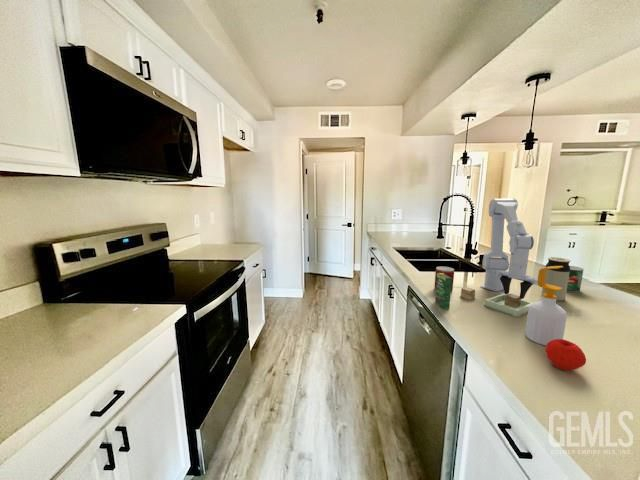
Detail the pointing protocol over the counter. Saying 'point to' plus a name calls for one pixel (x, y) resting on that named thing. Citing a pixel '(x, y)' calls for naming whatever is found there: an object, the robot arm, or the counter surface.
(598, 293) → the counter surface
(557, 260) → the travel mug
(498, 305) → the tray
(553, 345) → the apple
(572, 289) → the canned tomato
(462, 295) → the block
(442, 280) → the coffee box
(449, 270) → the canned food
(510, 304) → the block
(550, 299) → the soap bottle
